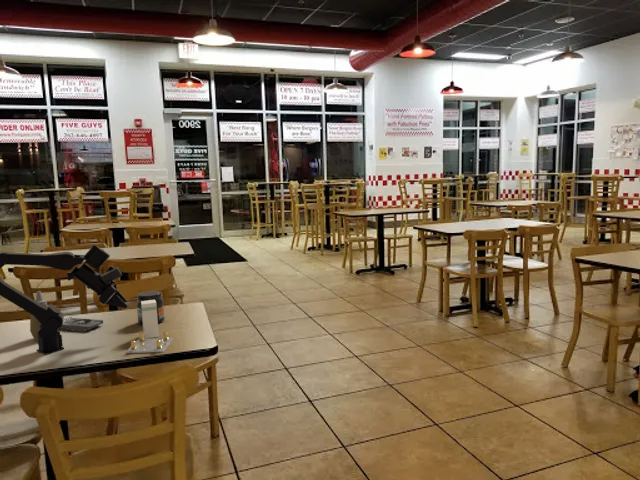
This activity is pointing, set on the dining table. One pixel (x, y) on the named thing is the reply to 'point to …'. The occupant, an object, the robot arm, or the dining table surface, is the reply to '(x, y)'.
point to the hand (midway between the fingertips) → (126, 304)
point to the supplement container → (151, 296)
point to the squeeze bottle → (33, 321)
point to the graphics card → (80, 324)
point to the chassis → (149, 344)
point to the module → (149, 319)
